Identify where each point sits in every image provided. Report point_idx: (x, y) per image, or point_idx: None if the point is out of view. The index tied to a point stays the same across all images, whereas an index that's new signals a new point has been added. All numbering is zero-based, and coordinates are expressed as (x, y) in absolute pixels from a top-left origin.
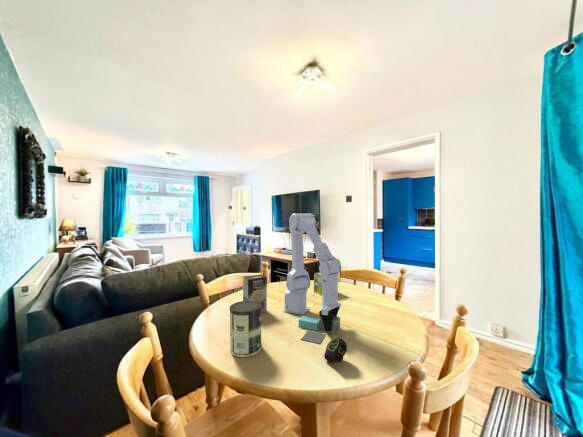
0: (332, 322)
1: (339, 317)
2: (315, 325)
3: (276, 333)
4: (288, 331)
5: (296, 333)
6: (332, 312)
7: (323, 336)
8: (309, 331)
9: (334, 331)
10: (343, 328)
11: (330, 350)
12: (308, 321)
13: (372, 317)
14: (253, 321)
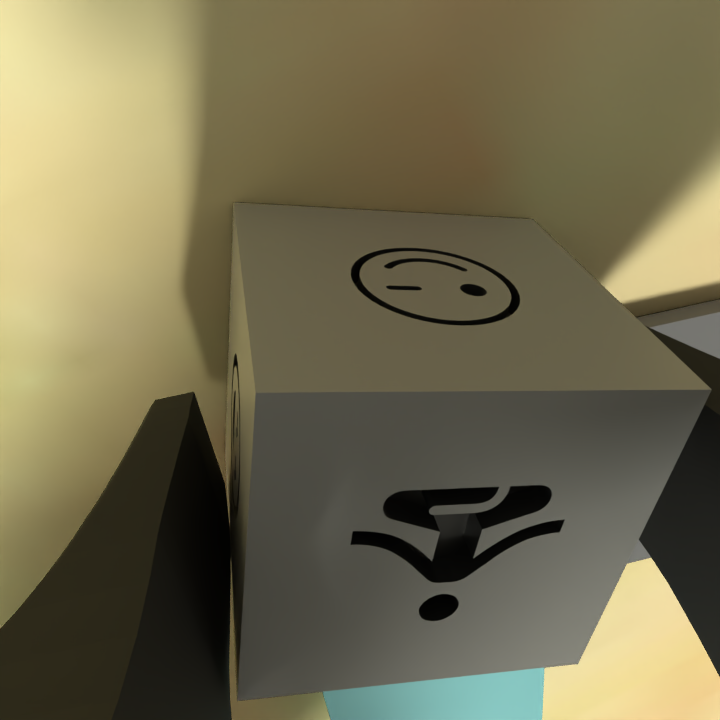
0: (684, 398)
1: (271, 402)
2: None
3: (712, 714)
4: (633, 683)
5: (653, 616)
6: (194, 700)
7: (680, 335)
8: None
9: (511, 246)
10: (59, 180)
11: None
12: (537, 710)
13: None
14: None
